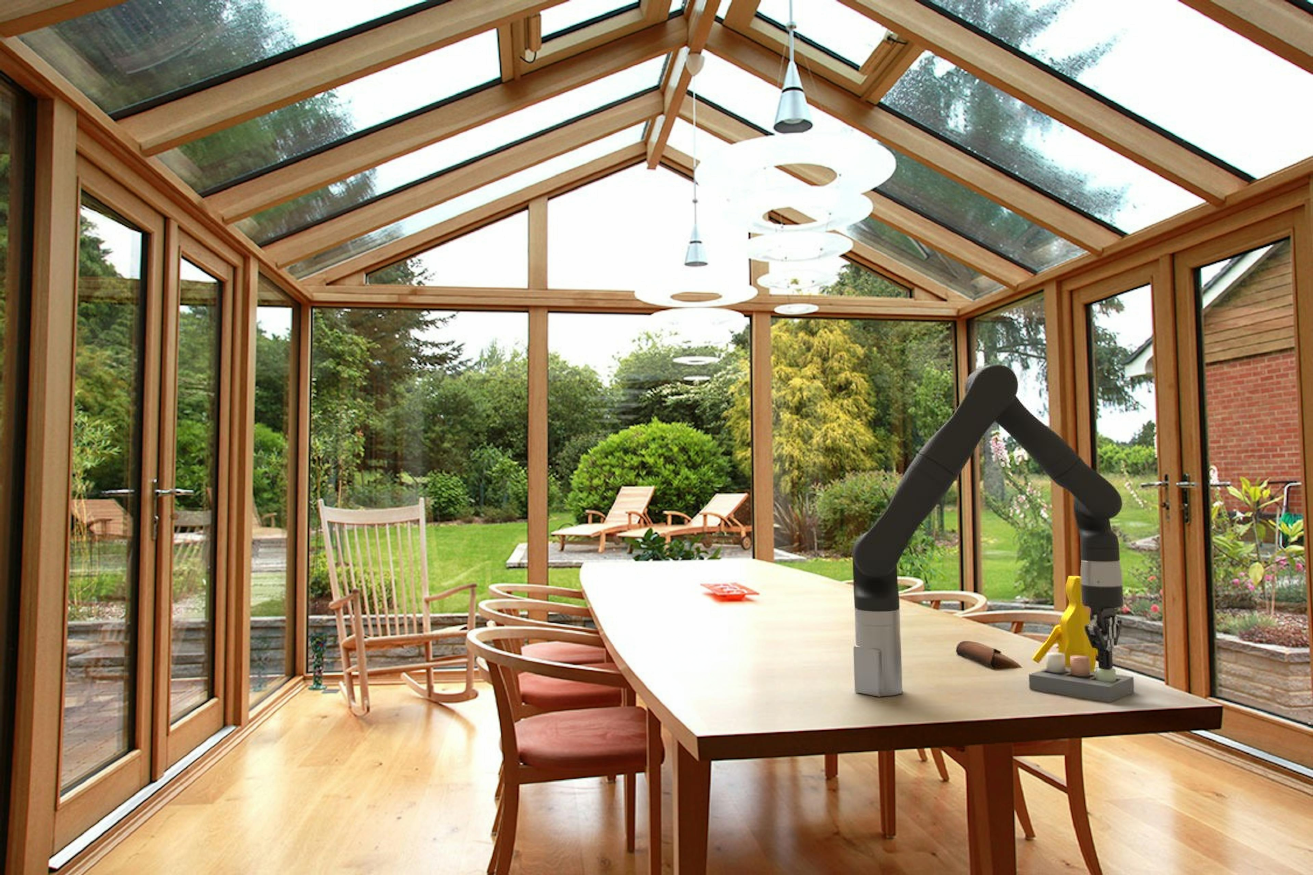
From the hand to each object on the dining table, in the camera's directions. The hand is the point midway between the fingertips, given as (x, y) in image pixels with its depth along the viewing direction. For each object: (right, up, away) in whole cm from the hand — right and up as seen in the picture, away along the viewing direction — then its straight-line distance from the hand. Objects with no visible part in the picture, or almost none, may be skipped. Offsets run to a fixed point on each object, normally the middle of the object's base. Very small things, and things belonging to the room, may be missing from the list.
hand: (1105, 668), depth 175 cm
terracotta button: (-3, -2, +4) cm, 5 cm away
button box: (-3, -5, +4) cm, 7 cm away
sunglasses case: (-11, -8, +34) cm, 36 cm away
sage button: (0, -4, 0) cm, 4 cm away
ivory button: (-7, -2, +7) cm, 10 cm away
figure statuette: (+2, -6, +18) cm, 19 cm away
